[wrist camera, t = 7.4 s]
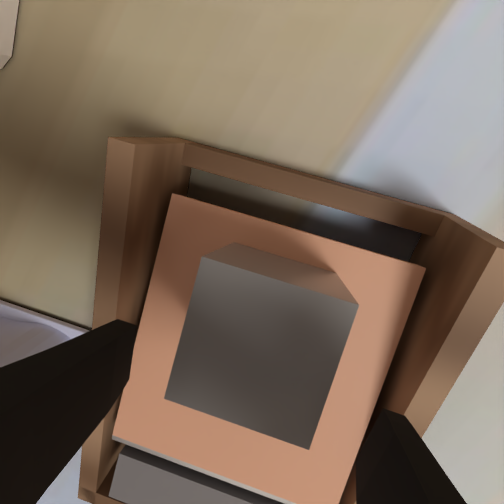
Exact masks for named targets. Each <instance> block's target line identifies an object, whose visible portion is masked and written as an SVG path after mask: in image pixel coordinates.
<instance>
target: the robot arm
mask: <svg viewBox="0 0 504 504" xmlns="http://www.w3.org/2000/svg"><path fill="white" fill-rule="evenodd" d="M136 329H137V325H134V324H131V323H128V322H126V321H123V320H120V319H116V320H114V321H111V322H109V323H107V324H104V325H102V326H100V327H98V328H95V329H93V330H91V331H89V330H86V329H83V328H81V327H78V326H75V325H72V324H69V323H66V322H63V321H60V320H57V319H54V318H51V317H49V316H46V315H43V314H40V313H37V312H34V311H31V310H28V309H25V308H22V307H19V306H16V305H14V304H11V303H8V302H5V301H2V300H0V504H36V503H37V501H38V500H39V499H40V497H41V496H42V495H43V494H44V492H45V491H46V490H47V488H48V487H49V486H50V485H51V483H52V482H53V481H54V480H55V478H56V477H57V476H58V475H59V473H60V472H61V471H62V470H63V468H64V467H65V466H66V465H67V463H68V462H69V461H70V460H71V459H72V457H73V456H74V455H75V454H76V452H77V451H78V450H79V449H80V447H81V446H82V445H83V444H84V442H85V441H86V440H87V439H88V437H89V436H90V435H91V434H92V432H93V431H94V430H95V429H96V427H97V426H98V425H99V424H100V422H101V421H102V420H103V419H104V417H105V416H106V415H107V414H108V412H109V411H110V409H111V408H112V406H113V405H114V403H115V402H116V400H117V399H118V397H119V395H120V394H121V392H122V391H123V389H124V387H125V386H126V384H127V383H128V381H129V378H130V371H131V364H132V357H133V350H134V343H135V336H136ZM356 504H467V503H466V502H465V501H464V499H463V498H462V496H461V495H460V494H459V492H458V491H457V489H456V488H455V486H454V485H453V484H452V482H451V481H450V479H449V478H448V476H447V475H446V474H445V472H444V471H443V469H442V468H441V466H440V465H439V463H438V462H437V461H436V459H435V458H434V456H433V455H432V453H431V452H430V450H429V449H428V447H427V446H426V444H425V443H424V442H423V440H422V439H421V437H420V436H419V434H418V433H417V431H416V430H415V428H414V427H413V426H412V424H411V423H410V422H409V420H408V419H407V417H406V416H404V415H402V414H399V413H396V412H393V411H390V410H387V409H384V408H383V409H382V410H381V412H380V414H379V416H378V418H377V420H376V422H375V424H374V426H373V428H372V430H371V432H370V434H369V435H368V437H367V439H366V441H365V443H364V445H363V447H362V449H361V451H360V453H359V455H358V457H357V459H356Z"/></svg>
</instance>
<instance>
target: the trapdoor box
mask: <svg viewBox="0 0 504 504" xmlns="http://www.w3.org/2000/svg"><path fill="white" fill-rule="evenodd" d="M191 168H195V169H199V170H202V171H206V172H209V173H213V174H216V175H220V176H223V177H227V178H230V179H234V180H237V181H241V182H244V183H248V184H251V185H255V186H258V187H262V188H265V189H269V190H272V191H276V192H279V193H283V194H286V195H290V196H293V197H297V198H300V199H304V200H307V201H311V202H314V203H318V204H321V205H325V206H328V207H332V208H335V209H339V210H342V211H346V212H349V213H353V214H356V215H360V216H363V217H367V218H370V219H374V220H377V221H381V222H384V223H388V224H391V225H395V226H398V227H402V228H405V229H409V230H412V231H416V232H419V233H422V234H421V237H420V239H419V241H418V243H417V245H416V248H415V250H414V252H413V254H412V256H411V258H410V261H409V262H410V263H413V264H417V265H419V266H422V267H424V268H426V270H425V273H424V276H423V278H422V281H421V284H420V286H419V289H418V292H417V294H416V297H415V300H414V303H413V305H412V308H411V311H410V313H409V316H408V319H407V321H406V324H405V327H404V329H403V332H402V335H401V337H400V340H399V343H398V346H397V348H396V351H395V354H394V356H393V359H392V362H391V364H390V367H389V370H388V372H387V375H386V378H385V380H384V383H383V386H382V389H381V391H380V394H379V397H378V399H377V402H376V405H375V407H374V410H373V413H372V415H371V418H370V421H369V423H368V426H367V429H366V432H365V434H364V437H363V440H362V442H361V445H360V448H359V450H358V453H357V456H356V458H355V461H354V464H353V466H352V469H351V472H350V475H349V477H348V480H347V483H346V485H345V488H344V491H343V493H342V496H341V499H340V501H339V504H356V459H357V457H358V455H359V453H360V451H361V449H362V447H363V445H364V443H365V441H366V439H367V437H368V435H369V434H370V432H371V430H372V428H373V426H374V424H375V422H376V420H377V418H378V416H379V414H380V412H381V410H382V409H383V408H384V409H387V410H390V411H393V412H396V413H399V414H402V415H404V416H406V417H407V419H408V420H409V422H410V423H411V424H412V426H413V427H414V428H415V430H416V431H417V433H418V434H419V436H420V437H421V438H422V436H423V435H424V433H425V431H426V430H427V428H428V426H429V425H430V423H431V421H432V420H433V418H434V416H435V415H436V413H437V411H438V410H439V408H440V406H441V405H442V403H443V401H444V400H445V398H446V396H447V395H448V393H449V391H450V390H451V388H452V387H453V385H454V383H455V382H456V380H457V378H458V377H459V375H460V373H461V372H462V370H463V368H464V367H465V365H466V363H467V362H468V360H469V358H470V357H471V355H472V353H473V352H474V350H475V348H476V347H477V345H478V343H479V342H480V340H481V338H482V337H483V335H484V333H485V332H486V330H487V329H488V327H489V325H490V324H491V322H492V320H493V319H494V317H495V315H496V314H497V312H498V310H499V309H500V307H501V305H502V304H503V302H504V242H503V241H501V240H500V239H498V238H496V237H494V236H492V235H491V234H489V233H487V232H485V231H483V230H482V229H480V228H478V227H476V226H474V225H472V224H471V223H469V222H467V221H465V220H463V219H462V218H460V217H458V216H456V215H454V214H451V213H447V212H443V211H440V210H436V209H433V208H429V207H425V206H422V205H418V204H415V203H411V202H407V201H404V200H400V199H397V198H393V197H389V196H386V195H382V194H379V193H375V192H372V191H368V190H364V189H361V188H357V187H354V186H350V185H346V184H343V183H339V182H336V181H332V180H328V179H325V178H321V177H318V176H314V175H310V174H307V173H303V172H300V171H296V170H292V169H289V168H285V167H282V166H278V165H274V164H271V163H267V162H264V161H260V160H256V159H253V158H249V157H246V156H242V155H238V154H235V153H231V152H228V151H224V150H220V149H217V148H213V147H210V146H206V145H202V144H199V143H195V142H192V141H188V140H184V139H181V138H163V137H108V145H107V157H106V169H105V181H104V193H103V205H102V217H101V229H100V240H99V252H98V264H97V276H96V288H95V300H94V312H93V324H92V330H93V329H95V328H98V327H100V326H102V325H104V324H107V323H109V322H111V321H114V320H116V319H120V320H123V321H126V322H128V323H131V324H134V325H137V329H136V336H135V341H136V337H137V333H138V329H139V325H140V321H141V317H142V313H143V309H144V305H145V301H146V297H147V293H148V289H149V285H150V281H151V277H152V273H153V269H154V264H155V260H156V256H157V252H158V248H159V244H160V240H161V236H162V232H163V228H164V224H165V220H166V216H167V212H168V208H169V204H170V200H171V196H172V193H173V194H178V195H182V196H187V191H188V185H189V179H190V174H191ZM134 345H135V343H134ZM123 390H124V389H123ZM122 394H123V391H122V392H121V394H120V395H119V397H118V399H117V400H116V402H115V403H114V405H113V406H112V408H111V409H110V411H109V412H108V414H107V415H106V416H105V417H104V419H103V420H102V421H101V422H100V424H99V425H98V426H97V427H96V429H95V430H94V431H93V432H92V434H91V435H90V436H89V437H88V439H87V440H86V441H85V442H84V444H83V445H82V455H81V467H80V479H79V490H78V498H79V499H82V500H84V501H87V502H89V503H92V504H127V503H124V502H122V501H119V500H117V499H114V498H112V497H109V492H110V488H111V484H112V480H113V476H114V473H115V469H116V465H117V461H118V457H119V453H120V452H121V451H122V449H123V448H124V446H125V445H126V444H124V443H121V442H118V441H115V440H113V439H112V434H113V430H114V426H115V422H116V418H117V414H118V410H119V406H120V402H121V398H122Z"/></svg>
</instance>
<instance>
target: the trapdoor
mask: <svg viewBox="0 0 504 504" xmlns="http://www.w3.org/2000/svg"><path fill="white" fill-rule="evenodd" d="M233 242H236V243H239V244H242V245H246V246H249V247H252V248H256V249H259V250H262V251H266V252H269V253H272V254H275V255H279V256H282V257H285V258H289V259H292V260H295V261H299V262H302V263H305V264H309V265H312V266H315V267H318V268H322V269H325V270H328V271H332V272H335V273H337V275H338V276H339V277H340V279H341V280H342V282H343V283H344V284H345V286H346V287H347V289H348V290H349V291H350V293H351V294H352V296H353V297H354V298H355V300H356V301H357V303H358V304H359V307H358V310H357V313H356V316H355V319H354V322H353V325H352V327H351V330H350V333H349V336H348V339H347V342H346V345H345V348H344V351H343V353H342V356H341V359H340V362H339V365H338V368H337V371H336V374H335V377H334V379H333V382H332V385H331V388H330V391H329V394H328V397H327V400H326V403H325V405H324V408H323V411H322V414H321V417H320V420H319V423H318V426H317V429H316V431H315V434H314V437H313V440H312V443H311V446H310V449H309V450H307V449H304V448H301V447H299V446H296V445H293V444H290V443H287V442H285V441H282V440H279V439H276V438H273V437H270V436H268V435H265V434H262V433H259V432H256V431H254V430H251V429H248V428H245V427H242V426H239V425H237V424H234V423H231V422H228V421H225V420H223V419H220V418H217V417H214V416H211V415H208V414H206V413H203V412H200V411H197V410H194V409H192V408H189V407H186V406H183V405H180V404H177V403H175V402H172V401H169V400H166V399H164V396H165V392H166V389H167V385H168V381H169V377H170V374H171V370H172V366H173V362H174V359H175V355H176V351H177V347H178V344H179V340H180V336H181V332H182V329H183V325H184V321H185V317H186V314H187V310H188V306H189V302H190V299H191V295H192V291H193V287H194V284H195V280H196V276H197V273H198V269H199V265H200V261H201V258H202V256H204V255H206V254H208V253H210V252H213V251H215V250H217V249H219V248H222V247H224V246H226V245H228V244H231V243H233ZM425 270H426V268H424V267H422V266H419V265H417V264H413V263H410V262H407V261H403V260H400V259H396V258H393V257H390V256H386V255H383V254H379V253H376V252H373V251H369V250H366V249H363V248H359V247H356V246H352V245H349V244H346V243H342V242H339V241H335V240H332V239H329V238H325V237H322V236H318V235H315V234H312V233H308V232H305V231H301V230H298V229H295V228H291V227H288V226H284V225H281V224H278V223H274V222H271V221H267V220H264V219H261V218H257V217H254V216H250V215H247V214H244V213H240V212H237V211H233V210H230V209H227V208H223V207H220V206H216V205H213V204H210V203H206V202H203V201H199V200H196V199H193V198H189V197H186V196H182V195H178V194H173V193H172V196H171V200H170V204H169V208H168V212H167V216H166V220H165V224H164V228H163V232H162V236H161V240H160V244H159V248H158V252H157V256H156V260H155V264H154V269H153V273H152V277H151V281H150V285H149V289H148V293H147V297H146V301H145V305H144V309H143V313H142V317H141V321H140V325H139V329H138V333H137V337H136V341H135V345H134V350H133V357H132V364H131V371H130V378H129V381H128V383H127V384H126V386H125V387H124V390H123V394H122V398H121V402H120V406H119V410H118V414H117V418H116V422H115V426H114V430H113V434H112V439H113V440H115V441H118V442H121V443H124V444H126V445H125V446H124V448H123V449H122V451H121V452H120V453H119V457H118V461H117V465H116V469H115V473H114V476H113V480H112V484H111V488H110V492H109V497H112V498H114V499H117V500H119V501H122V502H124V503H127V504H339V501H340V499H341V496H342V493H343V491H344V488H345V485H346V483H347V480H348V477H349V475H350V472H351V469H352V466H353V464H354V461H355V458H356V456H357V453H358V450H359V448H360V445H361V442H362V440H363V437H364V434H365V432H366V429H367V426H368V423H369V421H370V418H371V415H372V413H373V410H374V407H375V405H376V402H377V399H378V397H379V394H380V391H381V389H382V386H383V383H384V380H385V378H386V375H387V372H388V370H389V367H390V364H391V362H392V359H393V356H394V354H395V351H396V348H397V346H398V343H399V340H400V337H401V335H402V332H403V329H404V327H405V324H406V321H407V319H408V316H409V313H410V311H411V308H412V305H413V303H414V300H415V297H416V294H417V292H418V289H419V286H420V284H421V281H422V278H423V276H424V273H425Z"/></svg>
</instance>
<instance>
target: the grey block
mask: <svg viewBox="0 0 504 504" xmlns="http://www.w3.org/2000/svg"><path fill="white" fill-rule="evenodd" d="M358 307H359V304H358V303H357V301H356V300H355V298H354V297H353V296H352V294H351V293H350V291H349V290H348V289H347V287H346V286H345V284H344V283H343V282H342V280H341V279H340V277H339V276H338V275H337V273H335V272H332V271H328V270H325V269H322V268H318V267H315V266H312V265H309V264H305V263H302V262H299V261H295V260H292V259H289V258H285V257H282V256H279V255H275V254H272V253H269V252H266V251H262V250H259V249H256V248H252V247H249V246H246V245H242V244H239V243H236V242H233V243H231V244H228V245H226V246H224V247H222V248H219V249H217V250H215V251H213V252H210V253H208V254H206V255H204V256H202V258H201V261H200V265H199V269H198V273H197V276H196V280H195V284H194V287H193V291H192V295H191V299H190V302H189V306H188V310H187V314H186V317H185V321H184V325H183V329H182V332H181V336H180V340H179V344H178V347H177V351H176V355H175V359H174V362H173V366H172V370H171V374H170V377H169V381H168V385H167V389H166V392H165V396H164V399H166V400H169V401H172V402H175V403H177V404H180V405H183V406H186V407H189V408H192V409H194V410H197V411H200V412H203V413H206V414H208V415H211V416H214V417H217V418H220V419H223V420H225V421H228V422H231V423H234V424H237V425H239V426H242V427H245V428H248V429H251V430H254V431H256V432H259V433H262V434H265V435H268V436H270V437H273V438H276V439H279V440H282V441H285V442H287V443H290V444H293V445H296V446H299V447H301V448H304V449H307V450H309V449H310V446H311V443H312V440H313V437H314V434H315V431H316V429H317V426H318V423H319V420H320V417H321V414H322V411H323V408H324V405H325V403H326V400H327V397H328V394H329V391H330V388H331V385H332V382H333V379H334V377H335V374H336V371H337V368H338V365H339V362H340V359H341V356H342V353H343V351H344V348H345V345H346V342H347V339H348V336H349V333H350V330H351V327H352V325H353V322H354V319H355V316H356V313H357V310H358Z"/></svg>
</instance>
